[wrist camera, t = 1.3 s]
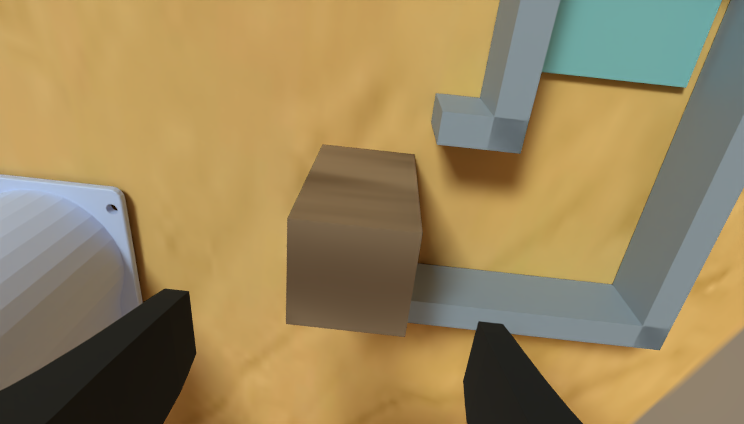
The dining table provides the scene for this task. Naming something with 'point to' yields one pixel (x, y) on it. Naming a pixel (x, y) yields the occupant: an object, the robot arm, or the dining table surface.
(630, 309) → the grey open rectangular frame
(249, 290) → the dining table surface
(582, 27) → the pad
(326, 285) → the block
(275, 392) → the dining table surface
